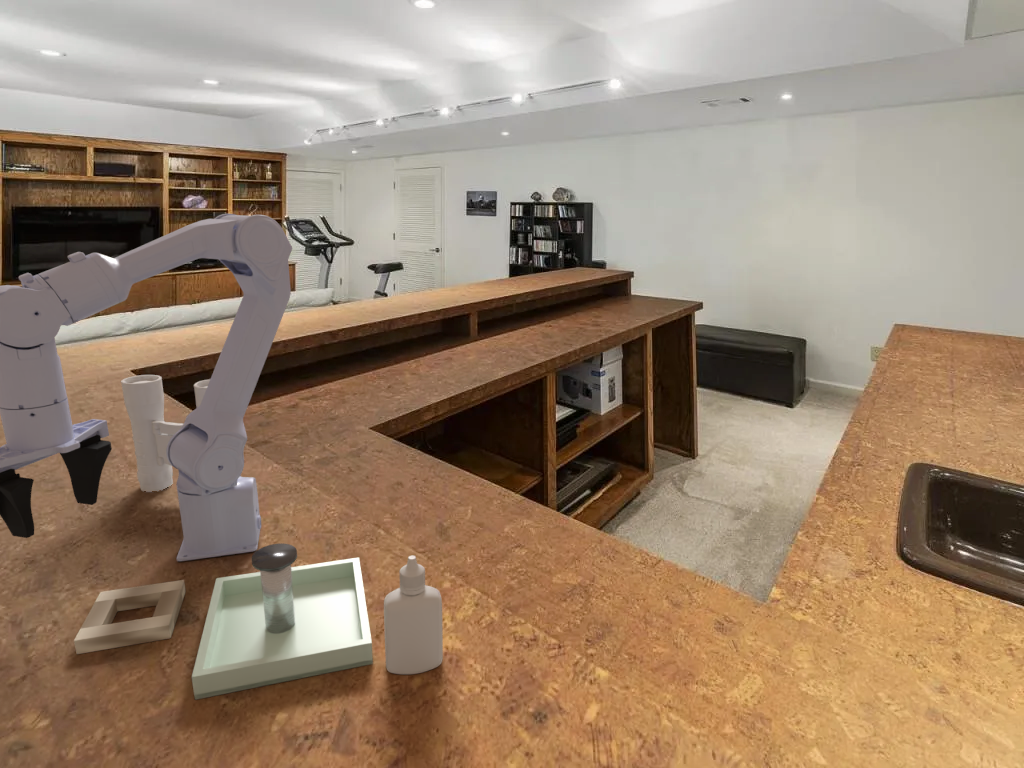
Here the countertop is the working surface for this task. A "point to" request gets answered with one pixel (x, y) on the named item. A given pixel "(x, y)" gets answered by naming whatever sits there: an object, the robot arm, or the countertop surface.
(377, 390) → the countertop surface
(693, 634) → the countertop surface
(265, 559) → the pin
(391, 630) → the eye dropper bottle
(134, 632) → the pin collar
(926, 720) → the countertop surface
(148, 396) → the binoculars
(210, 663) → the tray
